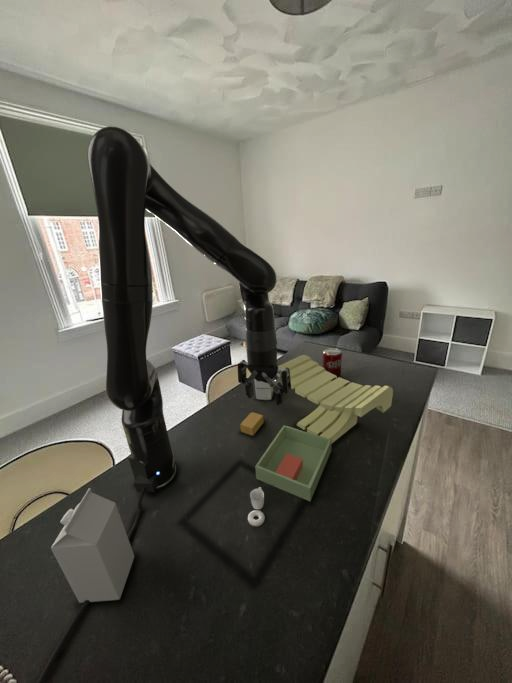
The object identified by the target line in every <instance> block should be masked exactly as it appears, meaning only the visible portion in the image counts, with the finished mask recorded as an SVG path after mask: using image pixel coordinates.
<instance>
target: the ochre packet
mask: <svg viewBox="0 0 512 683" xmlns="http://www.w3.org/2000/svg"><path fill="white" fill-rule="evenodd" d="M264 423H265V422H264V414H259V413H257V412H253V411H251V412H250V413H249V414H248V415H247V416H246V417H245V419H244V420H243V421H242V422H241V423H240V425H239V429H240V432H241V433H243V434H246V435H249V436H254V435H255V434H256V433H257V432H258V431H259V429H260V428H261V426H262V425H263V424H264Z"/></svg>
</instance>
